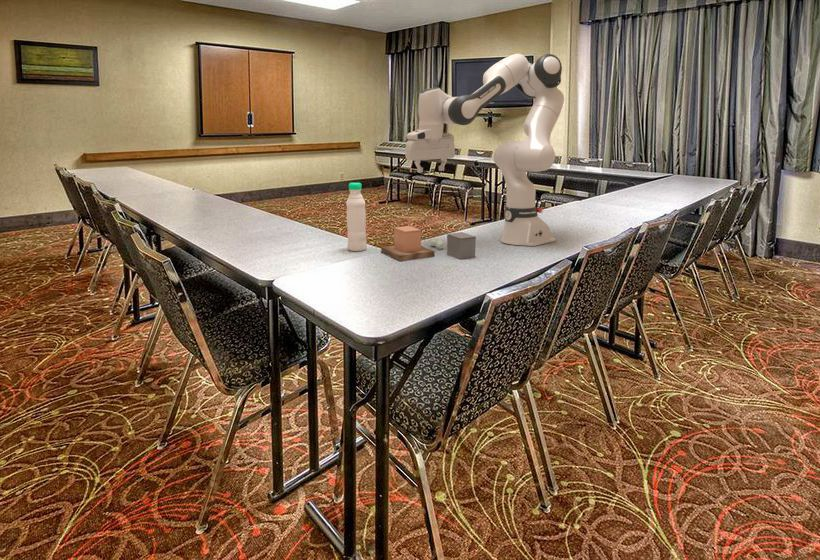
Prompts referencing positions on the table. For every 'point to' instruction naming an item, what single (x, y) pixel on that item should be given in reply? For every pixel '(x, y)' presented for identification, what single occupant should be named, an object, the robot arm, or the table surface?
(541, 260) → the table surface
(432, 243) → the marble
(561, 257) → the table surface
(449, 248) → the charcoal cover
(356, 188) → the water bottle
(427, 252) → the walnut board
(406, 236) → the terracotta cover
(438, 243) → the marble
